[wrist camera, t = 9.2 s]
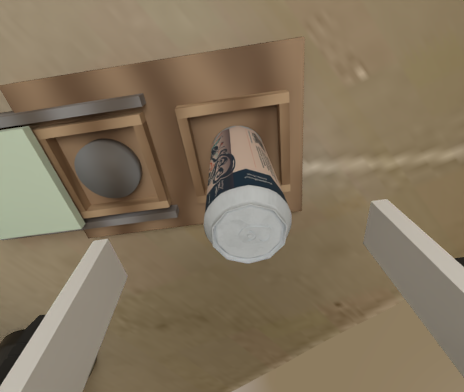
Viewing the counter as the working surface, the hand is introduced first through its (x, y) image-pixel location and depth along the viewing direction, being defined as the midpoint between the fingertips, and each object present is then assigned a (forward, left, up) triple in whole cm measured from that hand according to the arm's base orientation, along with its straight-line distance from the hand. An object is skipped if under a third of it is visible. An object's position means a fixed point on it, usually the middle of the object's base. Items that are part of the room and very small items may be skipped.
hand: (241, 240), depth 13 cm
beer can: (0, 0, -12) cm, 12 cm away
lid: (-21, 0, -11) cm, 23 cm away
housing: (-10, 0, -14) cm, 17 cm away
